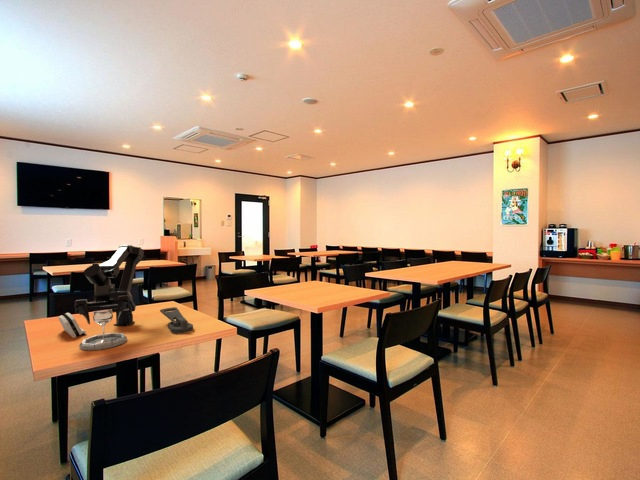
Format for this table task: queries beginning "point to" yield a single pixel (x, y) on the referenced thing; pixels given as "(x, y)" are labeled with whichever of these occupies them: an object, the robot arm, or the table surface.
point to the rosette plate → (91, 344)
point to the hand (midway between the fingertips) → (103, 322)
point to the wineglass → (103, 320)
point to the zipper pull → (177, 321)
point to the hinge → (70, 325)
